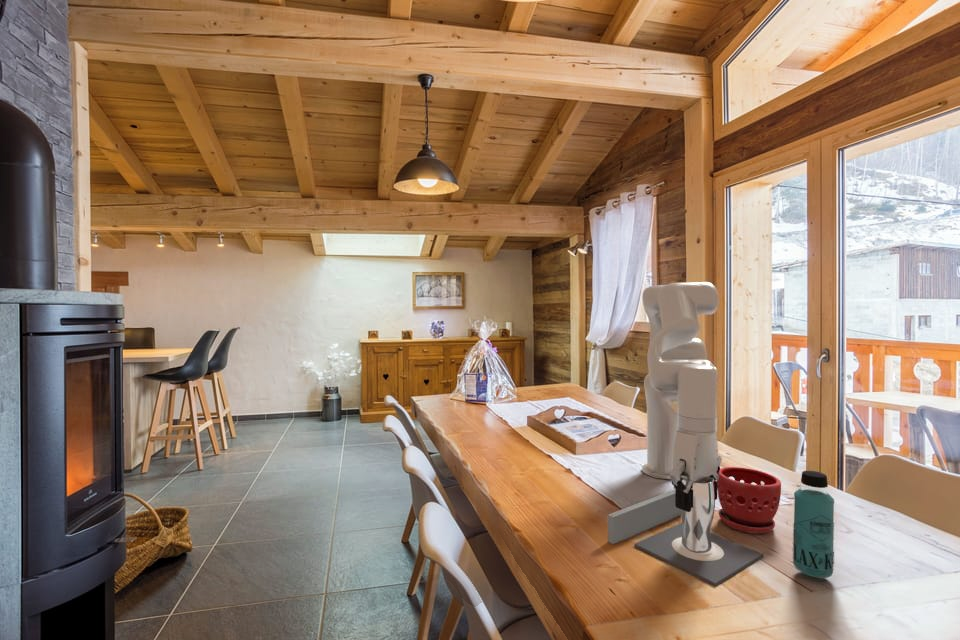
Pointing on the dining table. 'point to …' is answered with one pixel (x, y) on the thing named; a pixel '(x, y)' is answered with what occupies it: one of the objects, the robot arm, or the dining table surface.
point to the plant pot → (748, 499)
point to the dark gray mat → (705, 567)
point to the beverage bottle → (813, 527)
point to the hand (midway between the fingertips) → (696, 503)
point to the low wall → (641, 517)
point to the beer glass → (699, 517)
